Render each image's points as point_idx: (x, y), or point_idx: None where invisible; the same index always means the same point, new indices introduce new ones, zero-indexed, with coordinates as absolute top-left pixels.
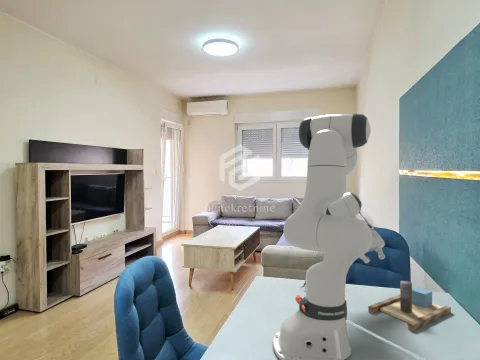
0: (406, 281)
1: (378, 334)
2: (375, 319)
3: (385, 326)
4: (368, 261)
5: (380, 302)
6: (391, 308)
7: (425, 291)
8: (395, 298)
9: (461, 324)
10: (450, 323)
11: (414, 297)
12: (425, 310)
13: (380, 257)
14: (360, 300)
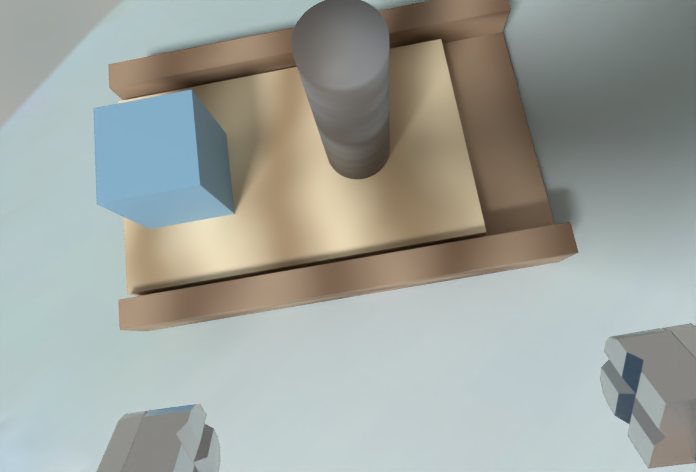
0: (309, 59)
1: (669, 68)
2: (566, 192)
3: (570, 114)
4: (659, 330)
5: (448, 265)
6: (420, 201)
7: (134, 124)
8: (292, 276)
9: (191, 11)
10: (227, 32)
11: (216, 176)
12: (253, 111)
13: (203, 464)
14: (460, 452)
